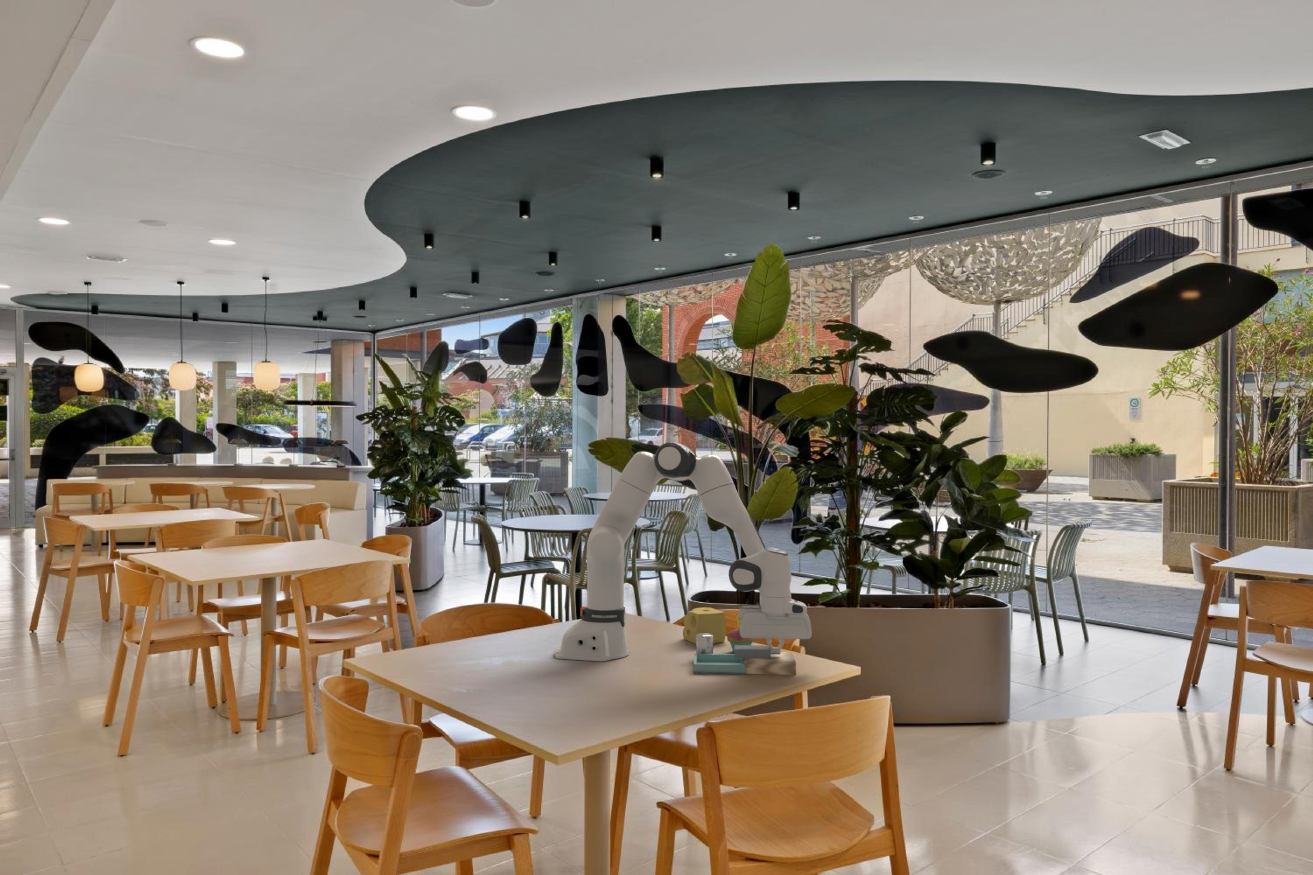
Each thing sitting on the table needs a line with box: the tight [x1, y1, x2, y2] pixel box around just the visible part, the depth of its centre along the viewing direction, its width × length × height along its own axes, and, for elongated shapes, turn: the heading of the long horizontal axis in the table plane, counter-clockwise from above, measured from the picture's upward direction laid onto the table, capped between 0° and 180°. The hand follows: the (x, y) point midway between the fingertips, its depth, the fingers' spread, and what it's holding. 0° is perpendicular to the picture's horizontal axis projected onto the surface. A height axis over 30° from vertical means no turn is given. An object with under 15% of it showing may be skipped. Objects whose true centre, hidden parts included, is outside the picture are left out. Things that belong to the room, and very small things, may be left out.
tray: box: [693, 653, 746, 675], centre depth 258 cm, size 14×12×2 cm
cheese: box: [682, 606, 727, 645], centre depth 293 cm, size 10×11×10 cm
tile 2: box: [751, 644, 771, 658], centre depth 257 cm, size 5×5×2 cm
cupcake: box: [726, 614, 756, 654], centre depth 278 cm, size 9×8×12 cm
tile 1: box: [734, 644, 753, 658], centre depth 258 cm, size 5×5×2 cm
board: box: [744, 651, 797, 676], centre depth 257 cm, size 14×12×4 cm
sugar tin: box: [695, 633, 714, 654], centre depth 269 cm, size 5×5×7 cm
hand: (775, 653), depth 257 cm, fingers closed
